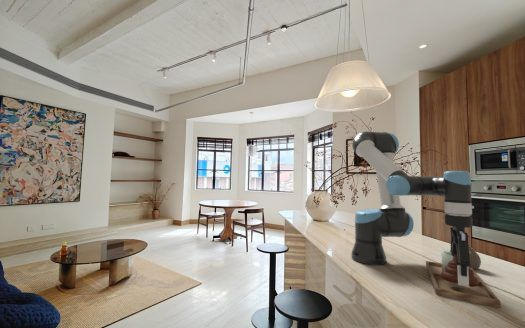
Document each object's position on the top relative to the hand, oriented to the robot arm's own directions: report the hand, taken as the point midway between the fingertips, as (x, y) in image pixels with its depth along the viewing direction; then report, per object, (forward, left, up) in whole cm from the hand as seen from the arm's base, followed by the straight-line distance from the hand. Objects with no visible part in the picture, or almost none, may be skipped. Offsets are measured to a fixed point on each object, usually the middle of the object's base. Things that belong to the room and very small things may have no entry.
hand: (460, 280), depth 82 cm
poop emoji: (0, 0, -1) cm, 1 cm away
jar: (0, +15, -3) cm, 15 cm away
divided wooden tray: (0, +8, -4) cm, 8 cm away
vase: (+9, +31, -4) cm, 32 cm away
